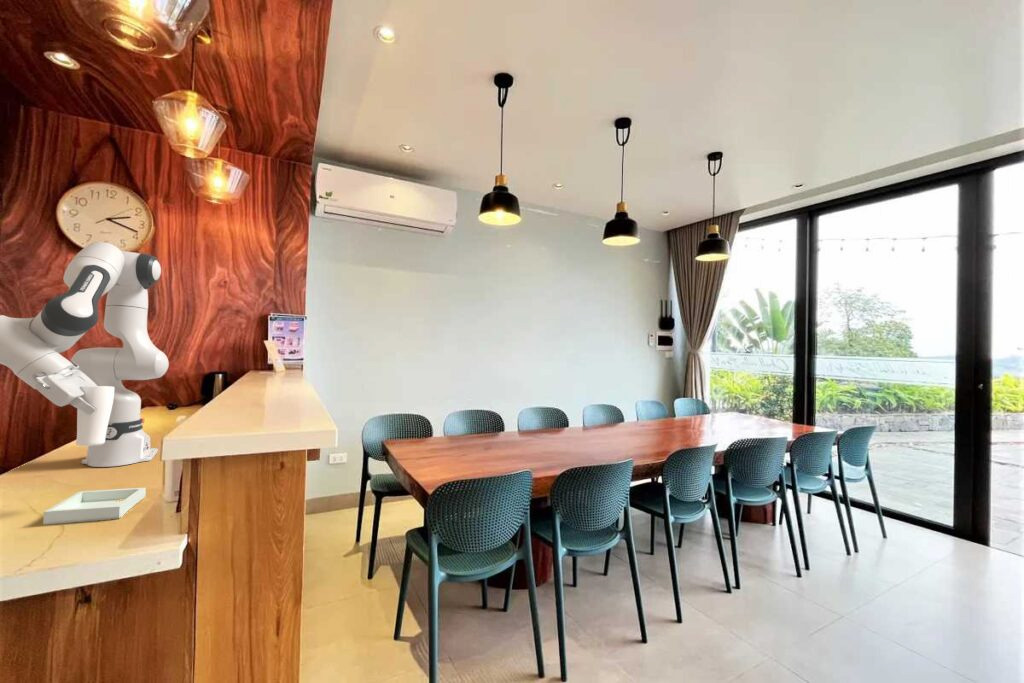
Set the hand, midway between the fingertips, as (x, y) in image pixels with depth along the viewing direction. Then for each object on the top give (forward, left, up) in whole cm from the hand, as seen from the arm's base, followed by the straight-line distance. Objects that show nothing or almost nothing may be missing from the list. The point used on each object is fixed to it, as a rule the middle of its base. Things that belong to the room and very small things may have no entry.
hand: (98, 410), depth 113 cm
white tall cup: (+1, -1, -9) cm, 9 cm away
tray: (+6, +3, -24) cm, 25 cm away
